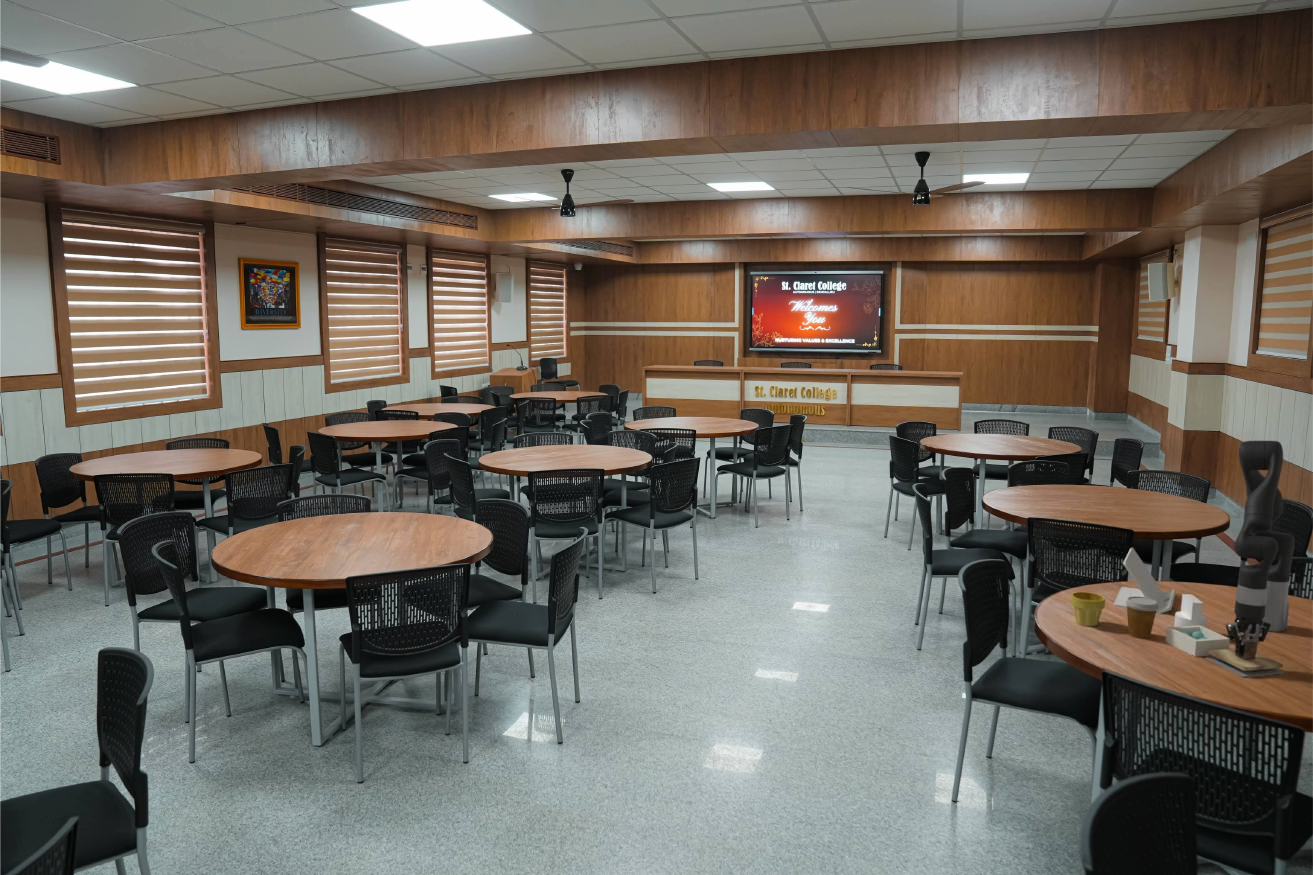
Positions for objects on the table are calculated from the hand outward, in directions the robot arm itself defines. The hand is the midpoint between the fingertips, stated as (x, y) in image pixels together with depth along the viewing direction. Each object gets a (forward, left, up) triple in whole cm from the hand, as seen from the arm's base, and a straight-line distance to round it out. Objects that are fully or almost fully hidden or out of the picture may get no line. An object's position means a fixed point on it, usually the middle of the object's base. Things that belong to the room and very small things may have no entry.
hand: (1245, 655), depth 257 cm
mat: (0, 0, -3) cm, 3 cm away
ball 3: (+3, -12, -1) cm, 13 cm away
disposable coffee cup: (+13, -28, -4) cm, 31 cm away
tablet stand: (-14, -58, -4) cm, 60 cm away
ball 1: (+6, -17, -1) cm, 18 cm away
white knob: (-5, -27, -4) cm, 28 cm away
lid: (0, 0, -2) cm, 2 cm away
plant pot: (+23, -41, -4) cm, 47 cm away
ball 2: (+1, -17, -1) cm, 18 cm away
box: (+3, -15, -4) cm, 16 cm away
